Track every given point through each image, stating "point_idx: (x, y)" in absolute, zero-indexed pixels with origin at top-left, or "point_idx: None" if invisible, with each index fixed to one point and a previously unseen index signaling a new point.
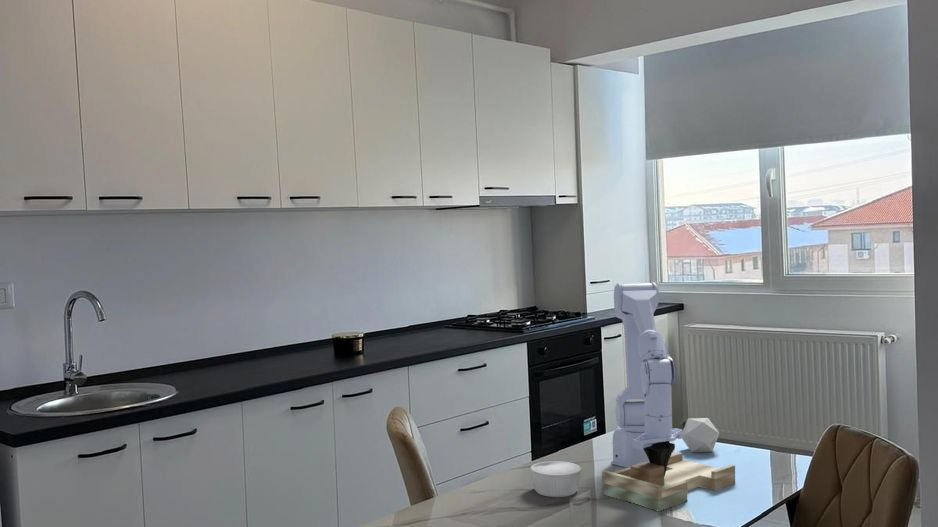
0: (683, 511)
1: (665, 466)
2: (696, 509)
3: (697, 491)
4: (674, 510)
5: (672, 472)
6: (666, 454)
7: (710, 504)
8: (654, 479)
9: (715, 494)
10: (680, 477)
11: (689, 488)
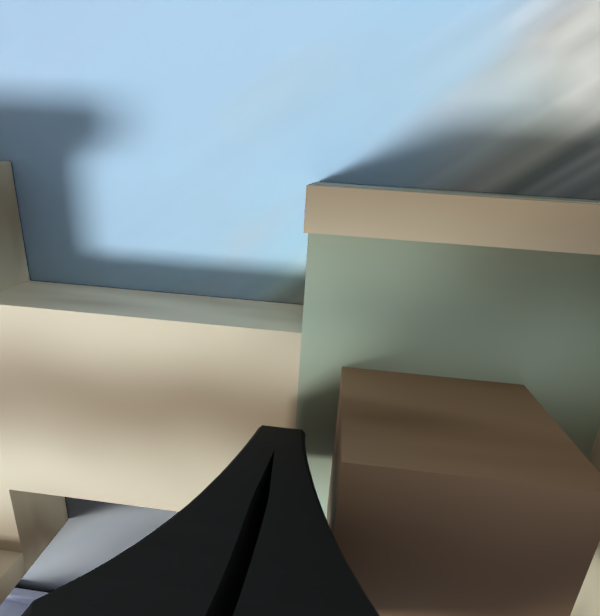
0: (539, 70)
1: (251, 473)
2: (437, 21)
3: (110, 241)
4: (555, 135)
5: (72, 458)
6: (222, 580)
7: (267, 9)
8: (481, 417)
9: (66, 117)
10: (113, 372)
11: (125, 292)
